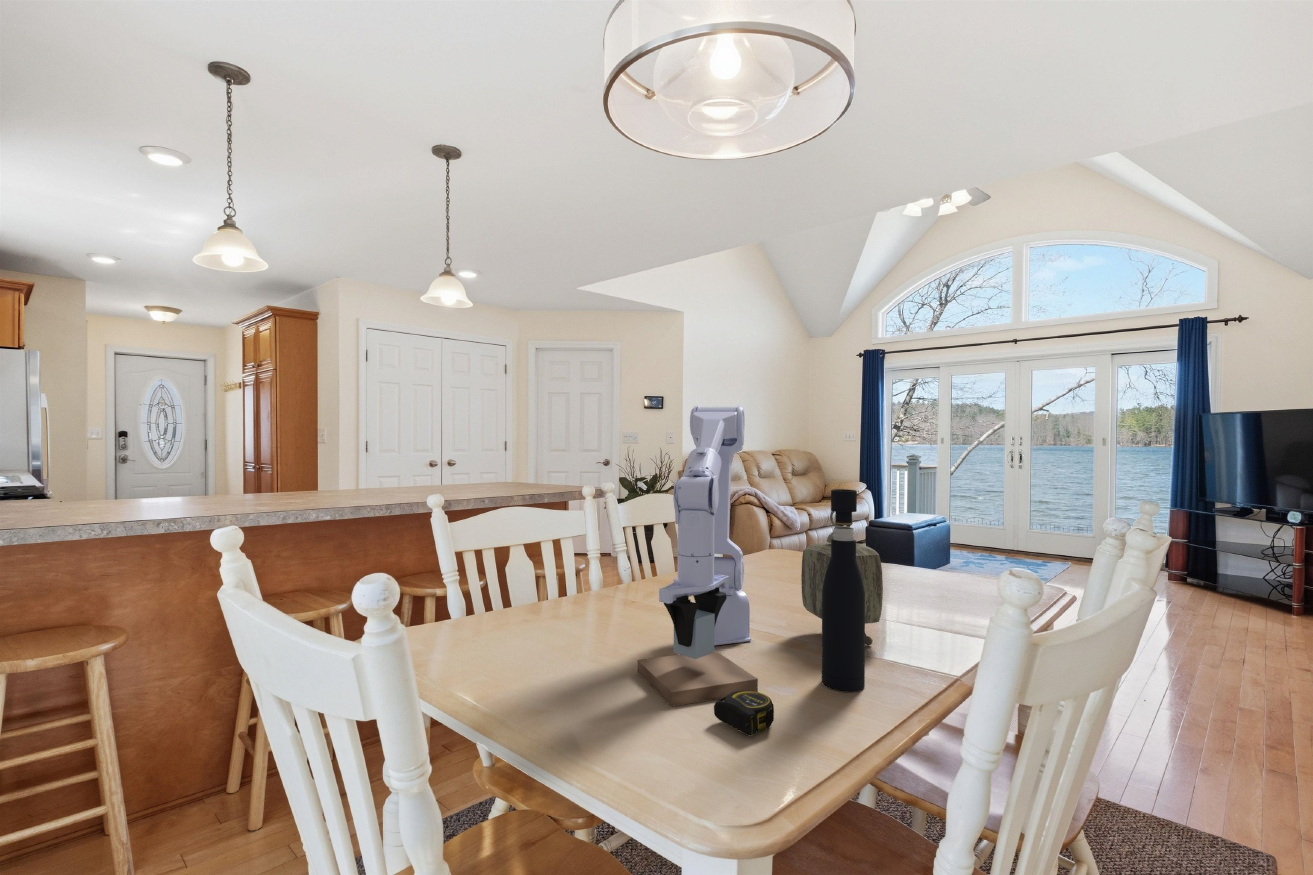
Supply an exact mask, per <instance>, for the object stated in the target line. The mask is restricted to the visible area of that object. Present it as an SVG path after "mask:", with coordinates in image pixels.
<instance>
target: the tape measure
mask: <svg viewBox="0 0 1313 875" xmlns="http://www.w3.org/2000/svg"><path fill="white" fill-rule="evenodd" d="M713 714H714V717H715V718H717V720H718V721H721V723H724V724H725V725H728V726H730V727H731V728H733V729H735V730H737V731H739V732H741V733H742V734H744V735H746V736H748V737H751V736H754V735H755V734H756V733H759V732H764V731H767V730H768V729H769V728H770V727H771V726H772V724H773V723H774V721H775V717H774V716H775V705H774V704H773V701H772V699H771V697H769V696H768V695H766V694H764V693H762V692H756V691H750V690H742V691H735V692H732V693H730V694H728V695H727V696H725V697H723V698H720V699H717V700H716V702H715V703H714V704H713Z"/></svg>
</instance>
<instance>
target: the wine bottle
mask: <svg viewBox="0 0 1313 875" xmlns="http://www.w3.org/2000/svg"><path fill="white" fill-rule="evenodd" d="M857 492H858V491H857V490H856V489H848V488H847V489H843V488H841V489H840V488H837V489H834V488H833V489H831V490H830V512H831V511H834V513H835V514H834V515H835V519H834V520H835V521H834V522H835V524H836V525H841V526H850V525H851V526H853V524H854V523H853V513H856V512H858V510H857V509H858V508H857V507H858V503H857V502H858V500H857V499H858V496H857ZM851 526H850V527H835V526H833V529H832V532H834V534H833V537H834V539H832V540H831V559H830V561H829V564H828V567H827V570H826V573H825V578H824V582H823V588H822V619H821V683H822V685H823V686H825V687H826V688H828V689H830V690H834V691H837V692H843V693H857V692H860V691H862V690H864V689H865V684H866V683H865V679H866V678H865V676H866V674H865V673H866V672H865V671H866V669H865V668H866V667H865V666H866V648H865V647H866V644H865V634H866V624H865V590H864V583H863V579H862V574H861V571H860V568H859V565H858V562H857V559H856V543H857V541H856V539H855V538H856V537H855V532H856V531H855V529H854V527H851Z"/></svg>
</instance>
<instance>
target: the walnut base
mask: <svg viewBox="0 0 1313 875" xmlns="http://www.w3.org/2000/svg"><path fill="white" fill-rule="evenodd" d="M636 665H637V674H638V675H639V676H641V678H642V679H643V680H644V681H646V683H647V684H648V685H649V686H650V687H651V688H653V690H654V691H655V692H657V693H658V695H659V696H660V697H661V698H662V699H663V700H664V701H665V702H666V703H667V704H669V705H670V706H671V707H676V706H681V705H683V706H684V705H689V704H693V703H701V702H707V701H712V700H719V699H721V698H723V697H725V696H727V695H728V694H730V693H732V692H735V691H742V690H750V691H756V692H758V690H759V688H758V687H759V685H758V684H759V680H758V679H759V678H757V677H755V676H754V675H753V674H752V673H750V672H748V671H747V670H746V669H744V668H742V667H741V666H739V665H738V664H736V663H735V662H733V661H732V660H730V659H729V658H727V657H726V656H725V655H723V654H722V653H720V652H718V651H717V650H716V649H714V653H711V654H708V655H706V656H703V657H700V658H698V659H693V658H690V657H687V656H684V655H680V654H673V655H666V656H659V657H658V656H657V657H651V658H650V657H649V658H643V659H637V664H636Z"/></svg>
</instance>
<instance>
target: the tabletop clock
mask: <svg viewBox="0 0 1313 875" xmlns="http://www.w3.org/2000/svg"><path fill="white" fill-rule="evenodd" d="M834 513H835V512H834V511H831V510H830V513H829V514H830V515H829V519H830V522H831V524H832V526H833V527H851V526H852V525H850V526H841V525H836V524H835V521H834V518H833V517H834ZM833 534H834V532H833V531H832V532H831V533H829V535H828V536H827V538H826V542H820V543H812V544H810V545H809V546H807V547H806V548H804V549H803V552H802V557H801V577H800V580H801V581H800V582H801V598H802V600H801V601H802V605H803V607H804V608H805V610H807V612H809V613H811V614H813V615H814V616H815V617H817V618H819V619H821V620H822V588H823V582H824V578H825V573H826V570H827V567H828V564H829V561H830V559H831V540H832V539H834V537H833ZM856 559H857V562H858V565H859V568H860V571H861V574H862V579H863V583H864V590H865V625H867V624H876V623H879V622H880V619H881V616H882V611H883V599H884V598H883V596H884V595H883V593H884V584H883V583H884V582H883V568H882V566H883V565H882V561H881V557H880V554H879V553H878V552H877V551H876V550H875V549H873V548H871V547H869V546H867V545H864V544H862V543H859V542H858V543H857V542H856ZM872 644H873V638H872V637H871V636H869V635H867V634H866V633H865V646H871V645H872Z"/></svg>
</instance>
